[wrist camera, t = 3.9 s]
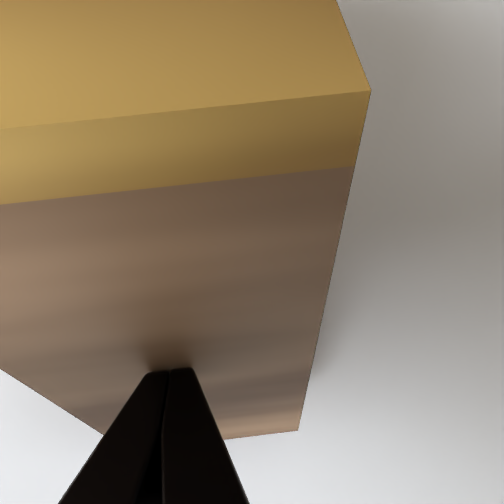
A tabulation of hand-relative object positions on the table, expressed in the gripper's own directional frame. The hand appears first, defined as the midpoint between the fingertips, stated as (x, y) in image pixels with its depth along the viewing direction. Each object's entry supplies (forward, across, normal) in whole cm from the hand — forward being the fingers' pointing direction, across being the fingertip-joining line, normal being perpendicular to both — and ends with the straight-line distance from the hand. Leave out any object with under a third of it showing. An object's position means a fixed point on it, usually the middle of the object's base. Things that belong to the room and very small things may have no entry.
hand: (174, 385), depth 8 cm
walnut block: (+5, 0, +4) cm, 7 cm away
